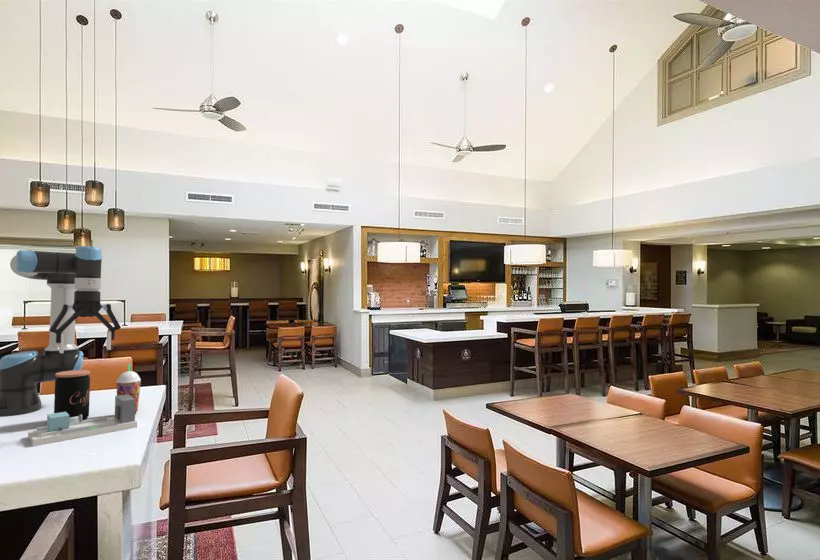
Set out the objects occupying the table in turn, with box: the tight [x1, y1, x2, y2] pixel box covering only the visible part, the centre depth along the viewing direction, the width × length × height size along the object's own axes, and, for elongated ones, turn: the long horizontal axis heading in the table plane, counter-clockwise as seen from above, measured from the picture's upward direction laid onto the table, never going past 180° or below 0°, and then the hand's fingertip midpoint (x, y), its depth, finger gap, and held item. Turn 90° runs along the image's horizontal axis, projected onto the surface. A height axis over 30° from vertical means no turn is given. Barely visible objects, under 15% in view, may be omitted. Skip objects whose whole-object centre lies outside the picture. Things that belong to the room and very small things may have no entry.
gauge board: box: [27, 394, 138, 447], centre depth 156 cm, size 12×29×10 cm, turn 136°
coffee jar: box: [53, 369, 91, 423], centre depth 170 cm, size 11×11×18 cm
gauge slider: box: [46, 412, 82, 432], centre depth 152 cm, size 9×9×5 cm
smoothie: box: [115, 363, 142, 415], centre depth 178 cm, size 8×8×20 cm
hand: (85, 351), depth 157 cm, fingers open, 13 cm apart
